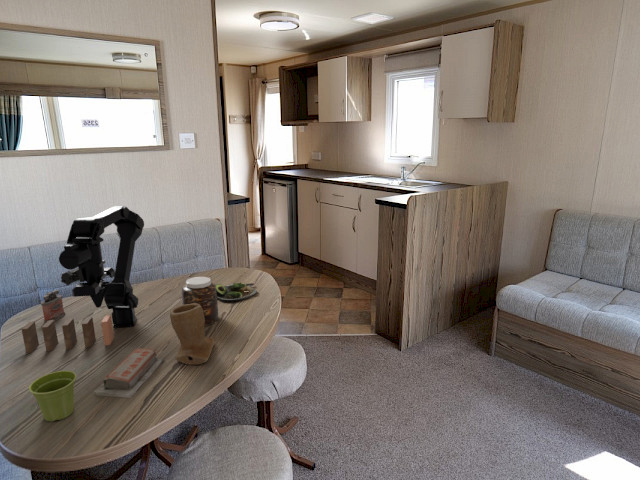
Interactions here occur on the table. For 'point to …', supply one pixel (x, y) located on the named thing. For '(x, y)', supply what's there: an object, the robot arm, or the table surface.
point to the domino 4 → (88, 331)
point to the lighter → (52, 306)
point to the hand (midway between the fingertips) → (98, 307)
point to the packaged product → (129, 374)
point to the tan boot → (191, 334)
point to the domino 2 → (50, 335)
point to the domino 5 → (107, 330)
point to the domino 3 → (69, 333)
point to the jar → (202, 297)
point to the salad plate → (233, 292)
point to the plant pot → (55, 394)
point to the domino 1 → (30, 337)
